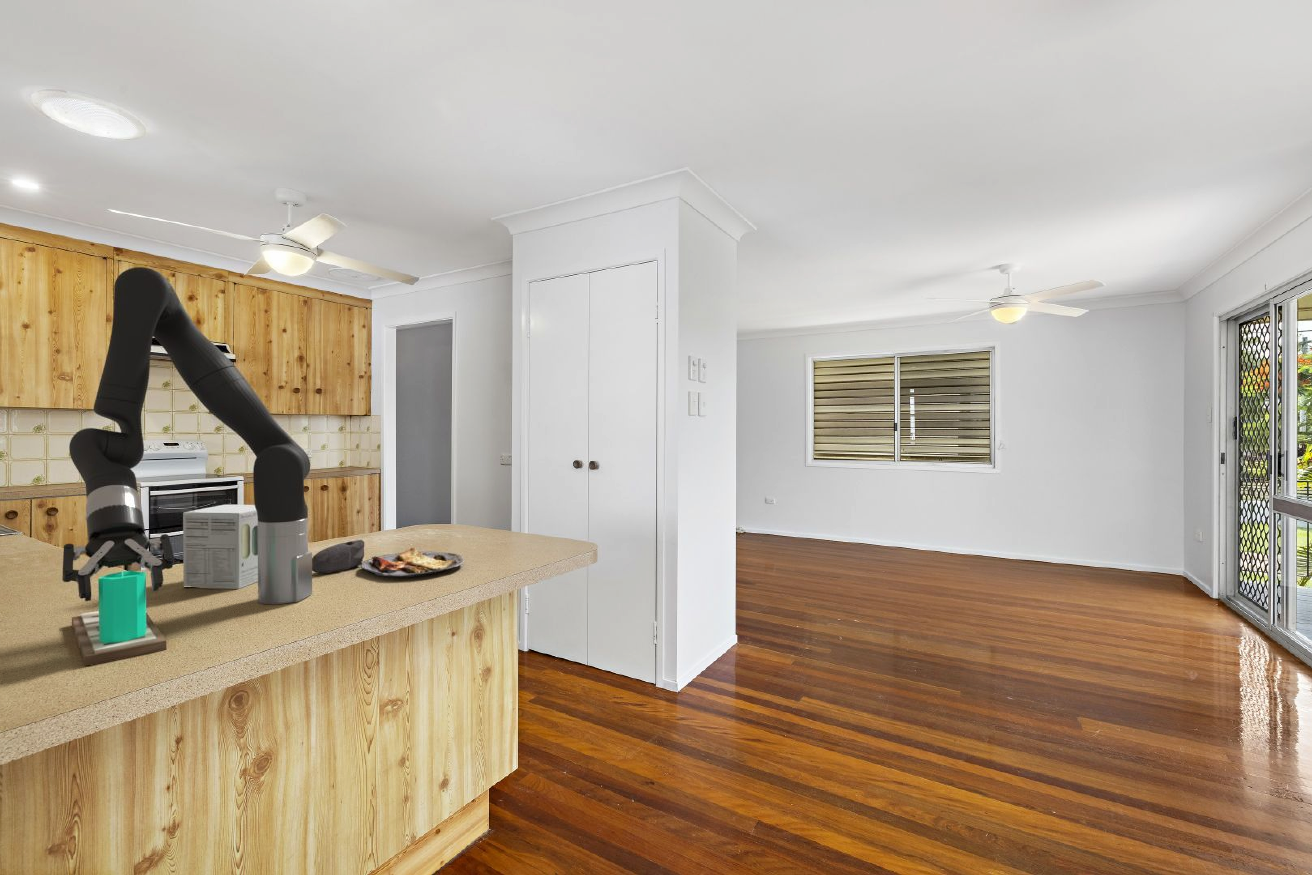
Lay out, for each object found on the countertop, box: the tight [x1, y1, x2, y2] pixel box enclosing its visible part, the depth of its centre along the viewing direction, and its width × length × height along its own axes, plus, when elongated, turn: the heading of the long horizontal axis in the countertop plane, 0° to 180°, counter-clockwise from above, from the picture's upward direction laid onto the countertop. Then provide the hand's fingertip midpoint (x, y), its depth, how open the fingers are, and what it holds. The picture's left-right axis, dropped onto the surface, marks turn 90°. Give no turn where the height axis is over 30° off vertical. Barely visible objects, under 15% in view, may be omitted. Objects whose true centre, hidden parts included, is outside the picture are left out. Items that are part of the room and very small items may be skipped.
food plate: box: [360, 547, 465, 578], centre depth 159 cm, size 25×23×4 cm
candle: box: [97, 566, 147, 643], centre depth 102 cm, size 6×6×12 cm
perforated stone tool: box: [312, 539, 365, 574], centre depth 156 cm, size 15×5×7 cm, turn 149°
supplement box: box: [182, 504, 258, 590], centre depth 145 cm, size 13×13×18 cm
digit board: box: [71, 610, 168, 667], centre depth 108 cm, size 27×10×2 cm, turn 47°
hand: (123, 593), depth 101 cm, fingers open, 8 cm apart
